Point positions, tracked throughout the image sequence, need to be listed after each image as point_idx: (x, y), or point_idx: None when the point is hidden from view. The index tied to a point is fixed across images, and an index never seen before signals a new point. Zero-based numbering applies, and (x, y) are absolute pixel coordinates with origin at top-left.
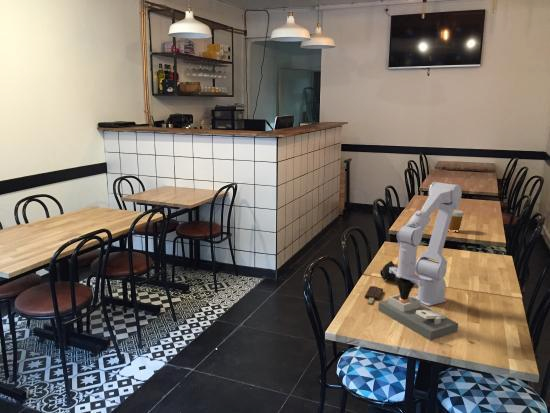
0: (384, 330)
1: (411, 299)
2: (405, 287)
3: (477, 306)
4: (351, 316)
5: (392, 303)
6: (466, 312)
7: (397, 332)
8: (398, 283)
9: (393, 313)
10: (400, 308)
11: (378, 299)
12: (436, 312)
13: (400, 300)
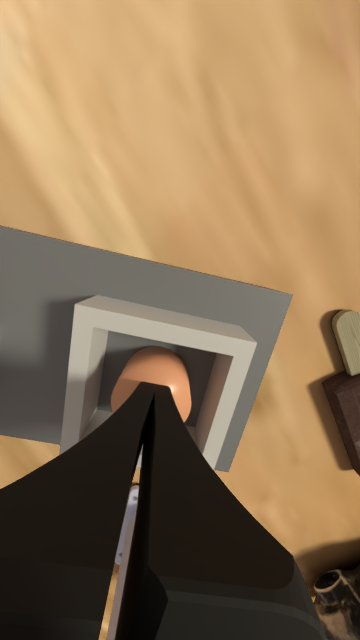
0: (92, 80)
1: None
2: (30, 476)
3: None
4: (346, 75)
5: (200, 321)
6: None
7: (31, 127)
8: (192, 510)
9: (151, 261)
10: (121, 302)
11: (328, 384)
12: None
13: (157, 364)
